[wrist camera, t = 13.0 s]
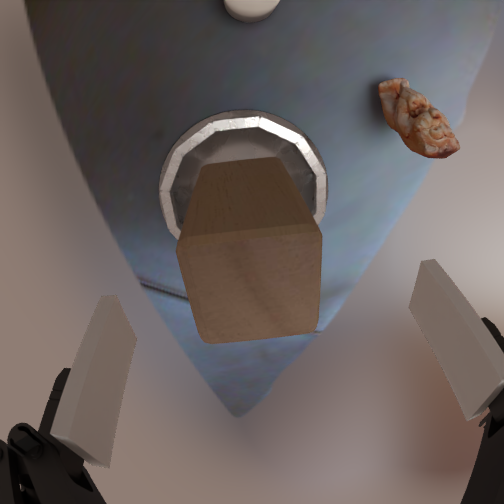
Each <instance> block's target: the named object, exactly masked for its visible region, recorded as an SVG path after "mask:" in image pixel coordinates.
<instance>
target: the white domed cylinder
mask: <svg viewBox="0 0 504 504" xmlns="http://www.w3.org/2000/svg"><path fill="white" fill-rule="evenodd" d="M279 1H280V0H224V5H225V9H226V10H227V12H228V13H229V14H230V15H231V16H232V17H233V18H235V19H237V20H239V21H242V22H247V23H253V22H259V21H262V20H264V19H266V18H267V17H268V16H270V15H271V14H272V12H273V11H274V9H275V7H276V6H277V4H278V3H279Z"/></svg>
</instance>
